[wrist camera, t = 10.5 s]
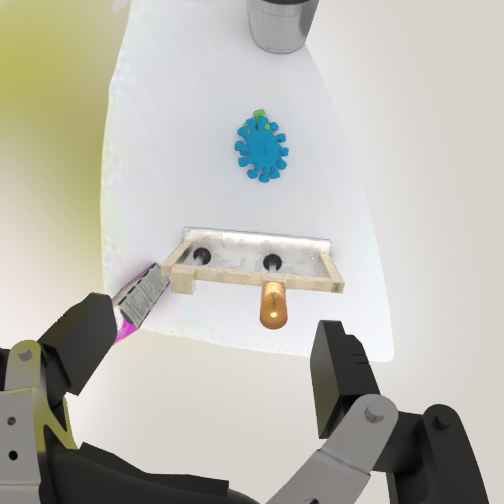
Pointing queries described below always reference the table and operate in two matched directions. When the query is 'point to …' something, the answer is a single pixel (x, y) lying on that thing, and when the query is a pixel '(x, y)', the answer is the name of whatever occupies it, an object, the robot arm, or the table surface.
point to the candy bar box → (137, 300)
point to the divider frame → (250, 260)
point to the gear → (261, 147)
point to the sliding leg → (273, 300)
